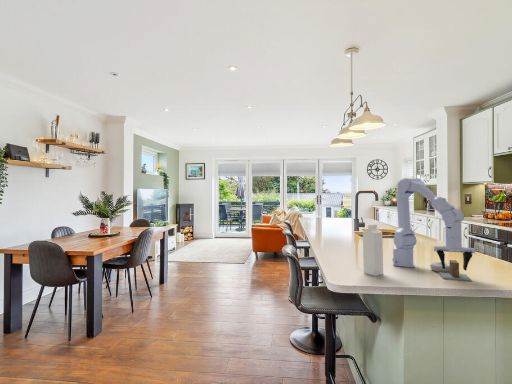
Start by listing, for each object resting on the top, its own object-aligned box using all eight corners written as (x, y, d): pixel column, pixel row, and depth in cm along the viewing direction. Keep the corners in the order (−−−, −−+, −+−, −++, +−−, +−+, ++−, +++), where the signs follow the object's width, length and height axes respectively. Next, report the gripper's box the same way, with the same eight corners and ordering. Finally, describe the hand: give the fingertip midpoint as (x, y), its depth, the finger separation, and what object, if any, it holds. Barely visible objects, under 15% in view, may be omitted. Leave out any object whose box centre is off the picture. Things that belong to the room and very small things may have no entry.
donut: (460, 264, 132) (444, 267, 129) (461, 272, 132) (444, 274, 129) (440, 260, 142) (424, 262, 139) (440, 267, 142) (425, 269, 139)
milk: (383, 274, 131) (382, 225, 132) (374, 276, 128) (373, 225, 129) (372, 271, 137) (371, 224, 137) (363, 273, 134) (362, 224, 134)
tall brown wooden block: (452, 277, 123) (452, 262, 123) (449, 273, 128) (449, 260, 129) (459, 277, 122) (458, 263, 122) (456, 274, 127) (455, 260, 128)
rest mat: (442, 278, 122) (442, 277, 122) (439, 273, 132) (439, 271, 132) (471, 281, 118) (471, 280, 118) (465, 275, 127) (465, 274, 127)
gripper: (435, 237, 125) (435, 269, 124) (476, 239, 119) (477, 272, 118) (432, 235, 131) (433, 265, 131) (472, 237, 125) (472, 268, 125)
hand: (454, 269), depth 125 cm, fingers open, 7 cm apart
